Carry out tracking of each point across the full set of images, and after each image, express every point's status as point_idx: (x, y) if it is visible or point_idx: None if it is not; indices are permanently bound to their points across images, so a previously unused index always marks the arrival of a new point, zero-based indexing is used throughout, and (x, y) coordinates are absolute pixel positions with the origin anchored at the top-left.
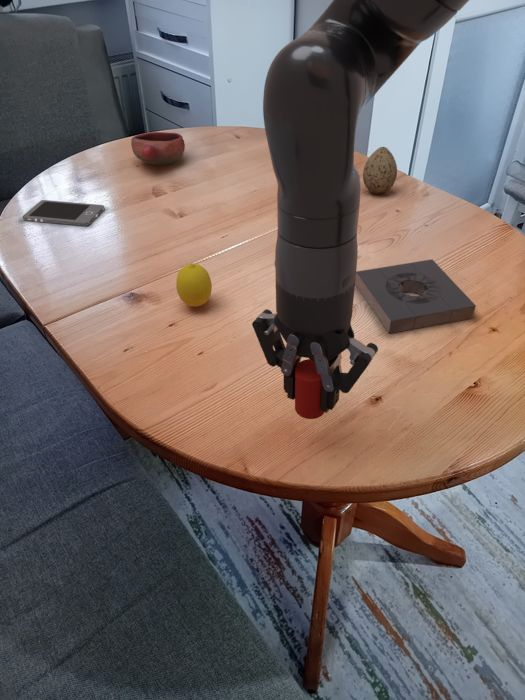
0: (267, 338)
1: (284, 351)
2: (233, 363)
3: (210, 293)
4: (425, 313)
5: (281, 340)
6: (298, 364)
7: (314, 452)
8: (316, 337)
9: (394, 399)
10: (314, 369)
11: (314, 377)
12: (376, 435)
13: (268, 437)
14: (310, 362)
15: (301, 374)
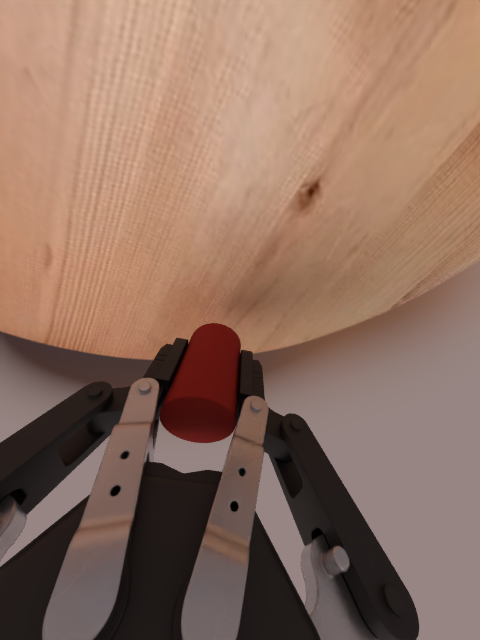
0: (30, 507)
1: (106, 413)
2: (27, 180)
3: None
4: None
5: (69, 431)
6: (161, 415)
7: (235, 321)
8: None
9: (344, 180)
10: (203, 421)
11: (211, 435)
12: (310, 274)
13: (176, 316)
14: (184, 406)
15: (182, 433)
